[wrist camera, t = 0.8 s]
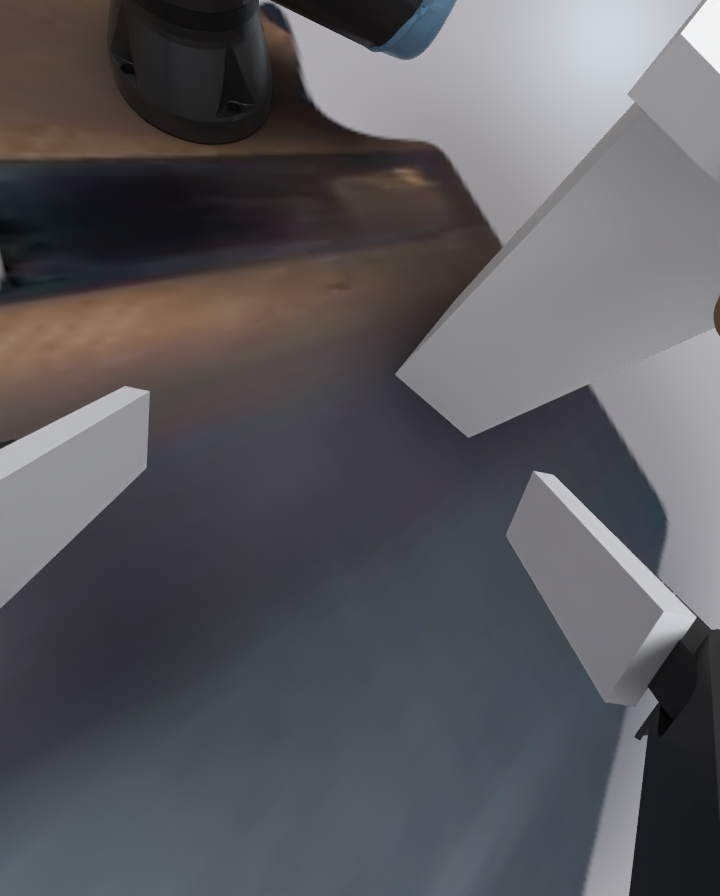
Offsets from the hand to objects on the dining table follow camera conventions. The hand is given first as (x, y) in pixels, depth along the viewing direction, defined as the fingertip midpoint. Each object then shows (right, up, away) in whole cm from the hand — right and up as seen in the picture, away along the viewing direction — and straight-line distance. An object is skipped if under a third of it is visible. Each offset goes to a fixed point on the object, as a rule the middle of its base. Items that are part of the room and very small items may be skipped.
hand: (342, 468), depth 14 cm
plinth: (+11, +9, +31) cm, 34 cm away
